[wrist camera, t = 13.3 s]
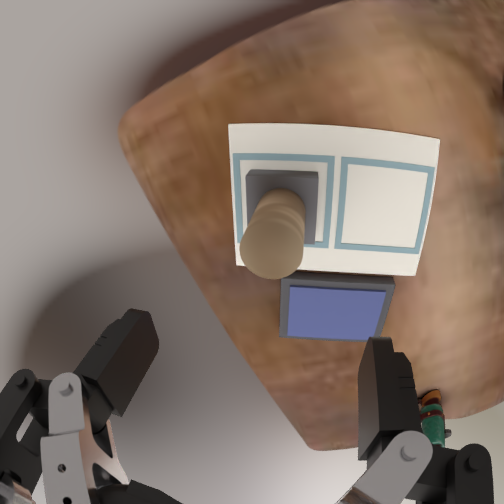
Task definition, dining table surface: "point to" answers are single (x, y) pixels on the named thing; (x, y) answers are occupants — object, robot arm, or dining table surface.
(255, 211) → the stamp
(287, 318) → the ink pad
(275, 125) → the form board
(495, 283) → the dining table surface
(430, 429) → the binoculars
